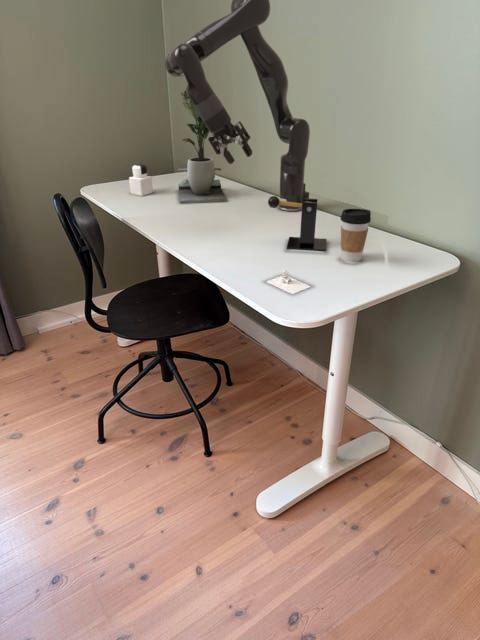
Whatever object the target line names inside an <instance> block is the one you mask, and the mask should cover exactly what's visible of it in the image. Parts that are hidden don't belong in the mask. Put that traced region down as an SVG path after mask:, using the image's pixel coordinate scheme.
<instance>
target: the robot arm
mask: <svg viewBox="0 0 480 640" xmlns="http://www.w3.org/2000/svg"><path fill="white" fill-rule="evenodd" d="M270 13H271V1H270V0H231V4H230V13H228V14H227V15H225V16H223V17H221V18H218V19H217V20H216V19H215V21H212V22H210V23H209V24H207V25H205V26H204V27H202V28H201V29H200V30H198V31H196V32H195V33H194V34H193V35H191V37H190V38H189V39H187V40H186V41H185V42H183V43H179V44H178V45H176V46H175V47H174V48H173V49H172V50H170V51H169V52H168V53H167V54H166V57H165V58H164V67H165V69H166V71H167V73H168V74H169V75H170V76H172V77H175V78H180V77H183V76H184V77H185V79H186V82H187V84H186V86H185V91H186V92H187V97H188V96H189V98H190V99H191V101H192V102H193V104H194V105H195V107H196V109H197V111H198V113H199V115H200V117H201V118H202V120H203V122H204V123H205V125H206V127H207V128H208V130H209V134H211V135H209V136H208V137H207V140H208V142H209V144H210V145H211V147H212V149H213V151H214V152H215V154H216V155H218V156H219V155H222V156H223V157H224V159H225V160H226V162H227V163H228V164H229V165H232V164H233V163H234V162H235V159H234V157H233V155H232V153H231V152H230V150H229V149H228V145H229V144H237V145H239V146H240V147H241V149H242V151H243V152H244V154H245V156H246V157H247V158H249V157H251V156H252V155H253V150H252V148H251V146H250V144H249V143H248V142H249V141H250V139H251V136H250V134H249V133H248V131H247V130H246V128H245V127H244V125H243V123H242V122H241V121H237V123H236V124H233V122H232V118H231V116H230V114H229V113H228V110H227V109H226V108H225V106H224V105H223V103H222V101H221V100H220V98H219V97H218V95H217V94H216V92H215V91H214V89H213V88H212V86H211V85H210V83H209V81H208V80H207V78H206V73H205V71H204V67H203V65H202V61H204V60H207V59H208V58H209V57H211V56H212V55H213V54H215V53H216V52H217V51H219V50H220V49H221V48H223V47H224V46H225V45H227V44H228V43H230V42H232V41H233V40H234V39H236V38H238V37H239V36H240V37H241V39H242V41H243V44H244V45H245V47H246V50H247V52H248V55H249V57H250V59H251V62H252V64H253V67H254V69H255V72H256V75H257V78H258V81H259V84H260V86H261V89H262V91H263V93H264V96H265V98H266V99H265V100H267V104H268V107H269V110H270V112H271V116H272V119H273V123H274V127H275V130H276V134H277V136H278V139H279V140H280V141H281V142H282V143H284V144H287V145H288V150H287V152H286V153H284V154H282V155H281V156H280V169H279V170H280V171H279V195H278V198H279V200H280V201H285V202H294V203H302V202H303V198H309V199H310V191H306V183H305V169H306V168H305V167H306V160H307V157H308V153H309V145H310V138H311V128H310V124H309V122H308V121H307V120H306V119H304V118H301V117H300V118H299V117H294V116H293V115H292V112H291V110H290V108H289V104H288V91H289V77H288V74H287V70H286V69H285V65H284V63H283V61H282V59H281V57H280V56H279V54H278V53H277V52H276V51H275V50H274V49H273V48H272V46H271V45H270V44H269V42H268V41H266V39H265V38H264V36H263V35H262V32H261V30H260V26H261V25H263V24H265V22H266V21H267V20H268V19H269V16H270ZM190 99H189V100H190ZM278 209H279V210H281V211H285V212H297V211H302V208H301V207H293V206H285V205H279V206H278Z"/></svg>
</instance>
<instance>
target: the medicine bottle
mask: <svg viewBox="0 0 480 640" xmlns="http://www.w3.org/2000/svg"><path fill="white" fill-rule="evenodd" d="M131 170H132V176H129V177H128V182H129V190H130V194H131V195H135V196H140V197H144V196H147V195H151V194H154V186H153V176H151V175H148V169H147V165H145V164H134V165H133V166H132V168H131Z"/></svg>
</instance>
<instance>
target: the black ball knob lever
mask: <svg viewBox="0 0 480 640" xmlns="http://www.w3.org/2000/svg"><path fill="white" fill-rule="evenodd" d="M306 202H308V201H306ZM267 204H268V207H270V208H271V209H276V208H279V205H285V206H293V207H301V208H302V203H294V202H285V201H280V200H279V196H276V195H272V196H270V197H269V198H268V200H267Z"/></svg>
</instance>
